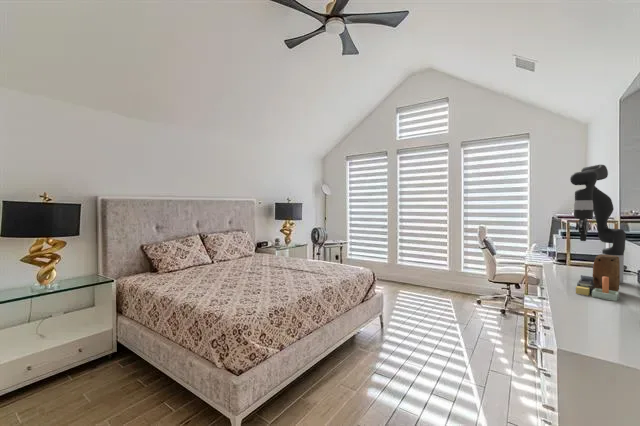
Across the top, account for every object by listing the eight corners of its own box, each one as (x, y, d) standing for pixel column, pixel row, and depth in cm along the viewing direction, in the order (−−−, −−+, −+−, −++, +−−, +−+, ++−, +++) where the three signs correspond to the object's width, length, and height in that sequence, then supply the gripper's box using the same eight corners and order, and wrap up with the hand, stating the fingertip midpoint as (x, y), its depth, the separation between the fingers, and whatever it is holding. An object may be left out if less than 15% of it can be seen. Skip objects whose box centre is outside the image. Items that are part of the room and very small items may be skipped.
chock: (577, 292, 156) (577, 285, 156) (589, 294, 152) (589, 288, 152) (575, 293, 154) (575, 287, 154) (588, 295, 150) (588, 289, 150)
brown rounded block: (620, 291, 156) (620, 255, 156) (618, 294, 152) (619, 257, 151) (593, 287, 165) (593, 253, 164) (591, 289, 160) (591, 254, 160)
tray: (595, 293, 153) (595, 287, 153) (619, 297, 146) (619, 291, 146) (591, 296, 148) (591, 291, 148) (616, 301, 140) (616, 295, 140)
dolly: (580, 288, 162) (580, 274, 162) (594, 290, 158) (594, 276, 157) (576, 291, 157) (576, 277, 156) (591, 294, 152) (591, 279, 152)
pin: (602, 295, 148) (602, 276, 148) (609, 296, 146) (609, 277, 146) (601, 295, 147) (601, 277, 147) (608, 297, 145) (608, 277, 145)
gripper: (576, 208, 158) (576, 239, 159) (571, 209, 150) (571, 241, 150) (595, 208, 152) (595, 240, 153) (590, 209, 144) (590, 242, 145)
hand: (583, 240), depth 152 cm, fingers closed
